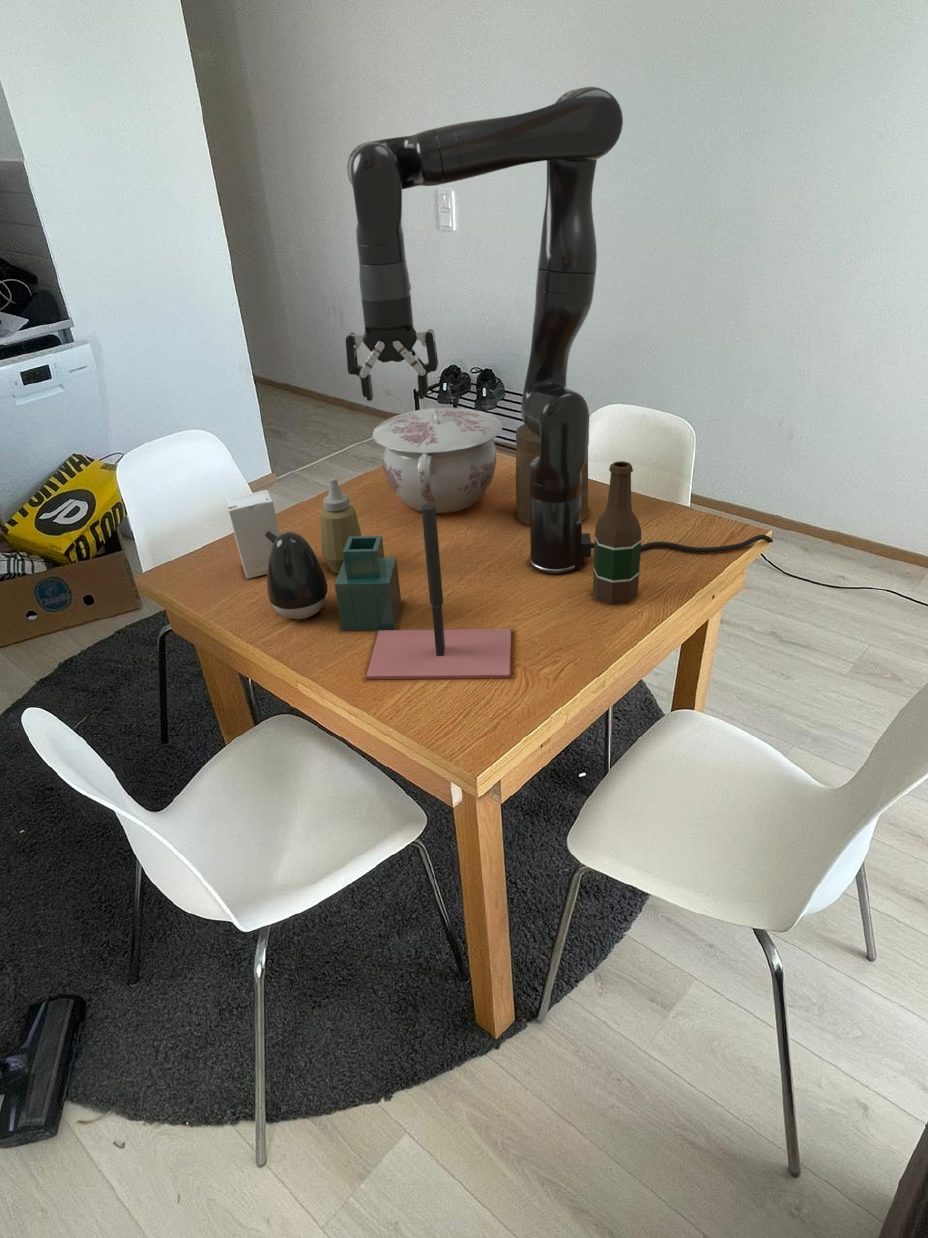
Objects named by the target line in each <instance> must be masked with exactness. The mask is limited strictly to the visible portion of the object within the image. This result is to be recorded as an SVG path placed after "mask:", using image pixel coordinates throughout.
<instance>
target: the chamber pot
mask: <svg viewBox="0 0 928 1238" xmlns="http://www.w3.org/2000/svg"><path fill="white" fill-rule="evenodd" d="M502 430H503V425H502V421H500V419H499V418H497V417H496V416H495V415H493V414H491V413H488V412H486V411H482V410H477V409H472V408H466V407H465V408H463V407H446V406H445V407H430V408H422V409H418V410H417V409H416V410H411V411H408V412H404V413H401V414H397V415H394V416H391V417H390V418H387V419H385V420H383V421H381V422H380V423H379V424H378V425H377V426H376V427H374V429H373V432H372V438H373V439H374V441H375V442H376V444H378V445H380V446H382V447H384V448H383V450H382V455H381V460H382V468H383V472H384V475H385V477H386V481H387V483H388V485H389V487H390V488H391V490H392V492H394V493H395V495H396V496H397V497H398V498H399V499H400V501H401V502H402V503H403V504H404V505H405V506H406V507H408V508H410V509H412V510H414V511H417V512H421V513H422V509H421V507H422V506H423V505H425V504H434V505H435V508H436V514H447V513H453V512H458V511H462V510H466V509H468V508H471V507H472V506H474V505H475V504H477V503H478V502H479V501H480V500H481V499H482V498H483V496H484V494H485V493H486V491H487V490H488V488H489V486H490V485H491V483H492V482H493V479H494V478H495V477H494V476H495V472H496V465H497V447H496V443H495V441H494V440H493V439H495V438H496V437H497V436H499V434H500V433H501V431H502Z"/></svg>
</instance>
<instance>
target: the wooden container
mask: <svg viewBox="0 0 928 1238" xmlns="http://www.w3.org/2000/svg"><path fill="white" fill-rule="evenodd" d="M589 444H590V435H589V436H588V446H590V445H589ZM540 447H541V437H539V436H538V435H536V434H534V433H533V432H531V431H530V430H529V429H528V428H527V427H526V426H525V424H524V423H523V424H521V425H519V427H517V428H516V430H515V493H516V495H515V496H516V497H515V499H516V516H517V518H518V520H519V521H521V522H522V523H524V524H526V525H529V526H530V477H529V467H530V463H531V461H532V460H533V459H535V458H536V457H538V456H540ZM588 507H589V448H588V449H587V458H586V462H585V464H584V467H583V469H582V489H581V521H582V522H583V521H584V520H585V519H586V518H587V517H588V511H589V510H588Z"/></svg>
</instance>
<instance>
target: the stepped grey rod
mask: <svg viewBox="0 0 928 1238" xmlns="http://www.w3.org/2000/svg"><path fill="white" fill-rule="evenodd" d="M421 509H422V512H421V517H422V519H421V520H422V529H423V530H422V532H423V540H424V550H425V560H426V561H425V563H426V574H427V583H428V584H427V585H428V594H429V597H428V598H429V603H430V606H431V612H432V622H433V623H432V624H433V630H434V635H435V646H436V656H444V651H445V639H444V630H445V629H444V616H443V604H444V596H443V583H442V572H441V560H440V559H441V558H440V546H439V534H438V521H437V520H438V519H437V513H436V508H435V505H434V504H425V505H423V506H422V507H421Z"/></svg>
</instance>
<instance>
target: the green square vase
mask: <svg viewBox="0 0 928 1238" xmlns="http://www.w3.org/2000/svg"><path fill="white" fill-rule="evenodd" d="M343 557H344V562H343V564H342V567H341V569H340V572H339V573H338V575H337V577H336V580H335V583H334V589H335V593H336V594H335V596H336V602H337V607H338V608H337V609H338V614H339V620H340V621H339V622H340V627H341V631H379V630H396V627H397V622H398V618H399V614H400V610H401V605H402V595H401V586H400V578H399V569H398V560H397V557H385V549H384V542H383V535H362V536H354V537H353V536H349V538H348V540H347V543H346V545H345V548H344V550H343Z"/></svg>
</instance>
